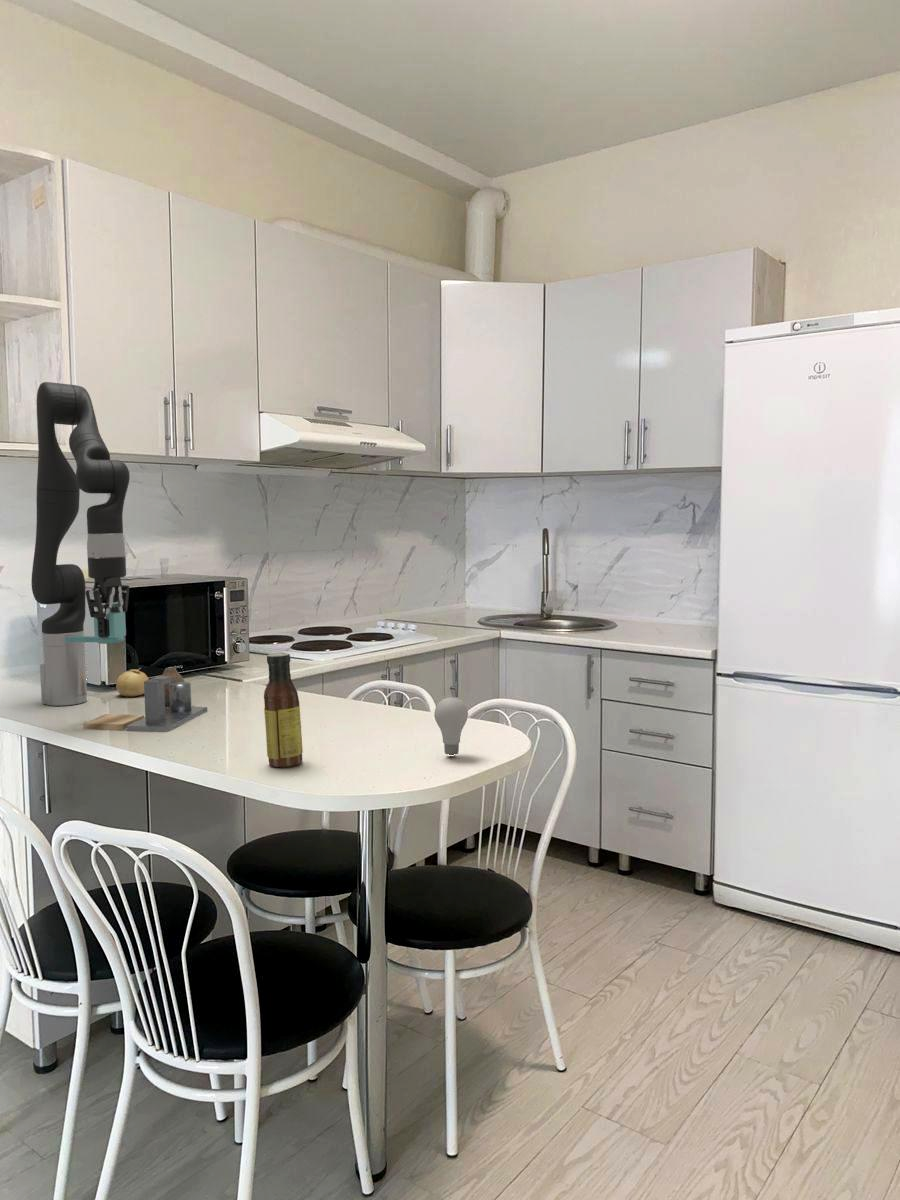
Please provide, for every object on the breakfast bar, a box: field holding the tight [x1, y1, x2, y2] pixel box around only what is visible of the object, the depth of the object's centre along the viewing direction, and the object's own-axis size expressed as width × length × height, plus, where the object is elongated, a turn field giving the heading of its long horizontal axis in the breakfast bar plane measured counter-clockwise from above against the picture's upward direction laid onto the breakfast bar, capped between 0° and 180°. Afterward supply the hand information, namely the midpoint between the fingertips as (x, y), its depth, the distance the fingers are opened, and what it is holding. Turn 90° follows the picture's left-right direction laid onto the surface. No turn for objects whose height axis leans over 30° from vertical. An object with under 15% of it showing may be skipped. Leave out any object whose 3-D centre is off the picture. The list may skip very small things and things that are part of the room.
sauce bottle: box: [263, 652, 304, 768], centre depth 162 cm, size 6×6×20 cm
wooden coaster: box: [82, 713, 145, 731], centre depth 196 cm, size 9×9×1 cm
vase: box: [161, 667, 186, 707], centre depth 216 cm, size 7×7×9 cm
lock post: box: [126, 675, 208, 733], centre depth 199 cm, size 9×20×10 cm, turn 171°
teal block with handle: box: [66, 611, 127, 645], centre depth 195 cm, size 5×12×6 cm, turn 81°
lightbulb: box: [433, 697, 469, 755], centre depth 166 cm, size 6×6×11 cm
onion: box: [115, 667, 150, 698], centre depth 228 cm, size 8×8×7 cm
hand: (110, 635), depth 194 cm, fingers closed on teal block with handle, 4 cm apart
